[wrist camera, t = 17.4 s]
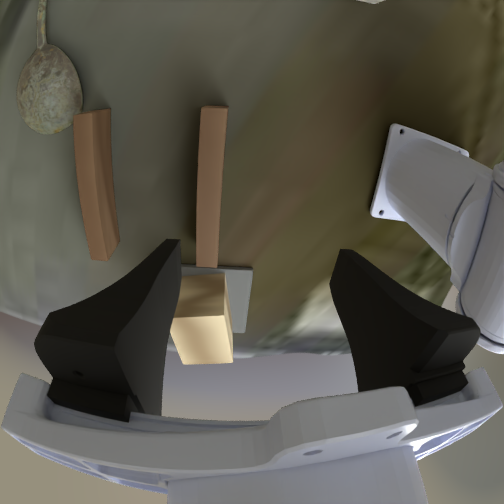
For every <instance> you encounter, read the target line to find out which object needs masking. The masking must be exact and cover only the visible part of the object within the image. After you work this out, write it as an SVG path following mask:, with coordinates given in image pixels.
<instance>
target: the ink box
mask: <svg viewBox="0 0 504 504" xmlns="http://www.w3.org/2000/svg"><path fill="white" fill-rule="evenodd" d="M358 1H363V2H367V3H371V4H376V3H379V2H382V1H384V0H358Z"/></svg>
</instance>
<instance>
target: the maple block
mask: <svg viewBox="0 0 504 504" xmlns="http://www.w3.org/2000/svg"><path fill="white" fill-rule="evenodd" d="M170 333H171V335H172V338H173V340H174V343H175V345H176V348H177V350H178V353H179V355H180V357H181V360H182V362H183V364H215V363H233V340H232V317H231V310H230V304H229V297H228V290H227V283H226V276H225V273H220V274H206V275H192V276H182V280H181V287H180V294H179V299H178V303H177V307H176V310H175V314H174V318H173V322H172V325H171V329H170Z"/></svg>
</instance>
